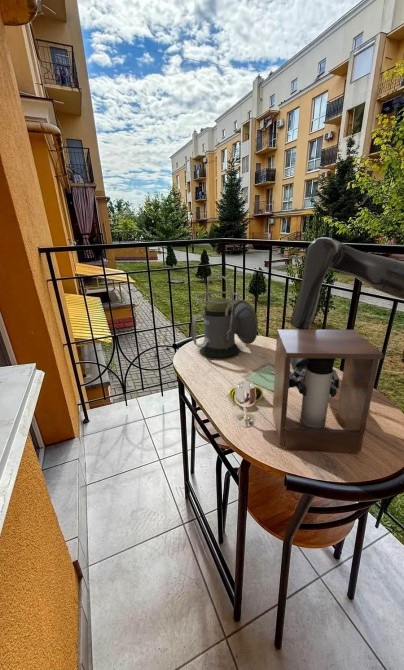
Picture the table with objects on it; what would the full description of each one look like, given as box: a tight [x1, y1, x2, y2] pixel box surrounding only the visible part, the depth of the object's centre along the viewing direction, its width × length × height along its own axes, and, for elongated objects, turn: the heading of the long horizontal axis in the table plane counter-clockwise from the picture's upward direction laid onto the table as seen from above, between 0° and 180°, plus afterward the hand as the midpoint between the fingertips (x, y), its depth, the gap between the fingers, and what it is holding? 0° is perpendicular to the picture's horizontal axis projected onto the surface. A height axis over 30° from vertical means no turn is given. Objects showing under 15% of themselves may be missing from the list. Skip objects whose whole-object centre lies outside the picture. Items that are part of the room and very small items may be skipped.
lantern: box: [190, 273, 259, 361], centre depth 122 cm, size 25×29×35 cm
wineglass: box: [235, 380, 257, 428], centre depth 78 cm, size 6×6×12 cm
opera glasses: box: [228, 385, 264, 405], centre depth 89 cm, size 10×5×5 cm, turn 106°
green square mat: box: [244, 365, 275, 393], centre depth 102 cm, size 14×14×1 cm
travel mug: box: [299, 358, 336, 429], centre depth 72 cm, size 6×7×20 cm
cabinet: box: [272, 329, 384, 455], centre depth 71 cm, size 15×19×26 cm
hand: (319, 393), depth 70 cm, fingers closed on travel mug, 6 cm apart
